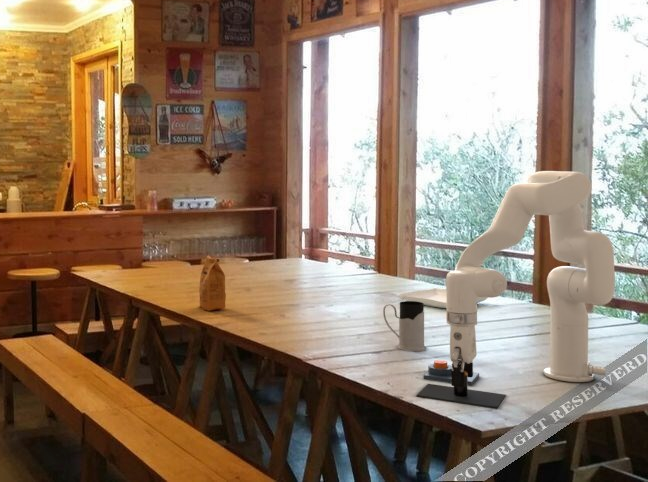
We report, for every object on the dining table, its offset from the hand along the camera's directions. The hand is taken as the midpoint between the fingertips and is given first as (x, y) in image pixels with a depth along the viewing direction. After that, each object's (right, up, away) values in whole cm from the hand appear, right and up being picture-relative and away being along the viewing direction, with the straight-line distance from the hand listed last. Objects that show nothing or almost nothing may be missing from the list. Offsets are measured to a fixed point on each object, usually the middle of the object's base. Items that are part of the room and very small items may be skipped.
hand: (462, 381), depth 210 cm
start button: (+1, 0, +18) cm, 18 cm away
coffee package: (-56, +2, +125) cm, 137 cm away
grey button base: (+3, -3, +17) cm, 17 cm away
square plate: (+42, +4, +126) cm, 133 cm away
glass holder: (+2, -1, +54) cm, 54 cm away
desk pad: (0, -4, 0) cm, 4 cm away
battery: (0, -4, 0) cm, 4 cm away
